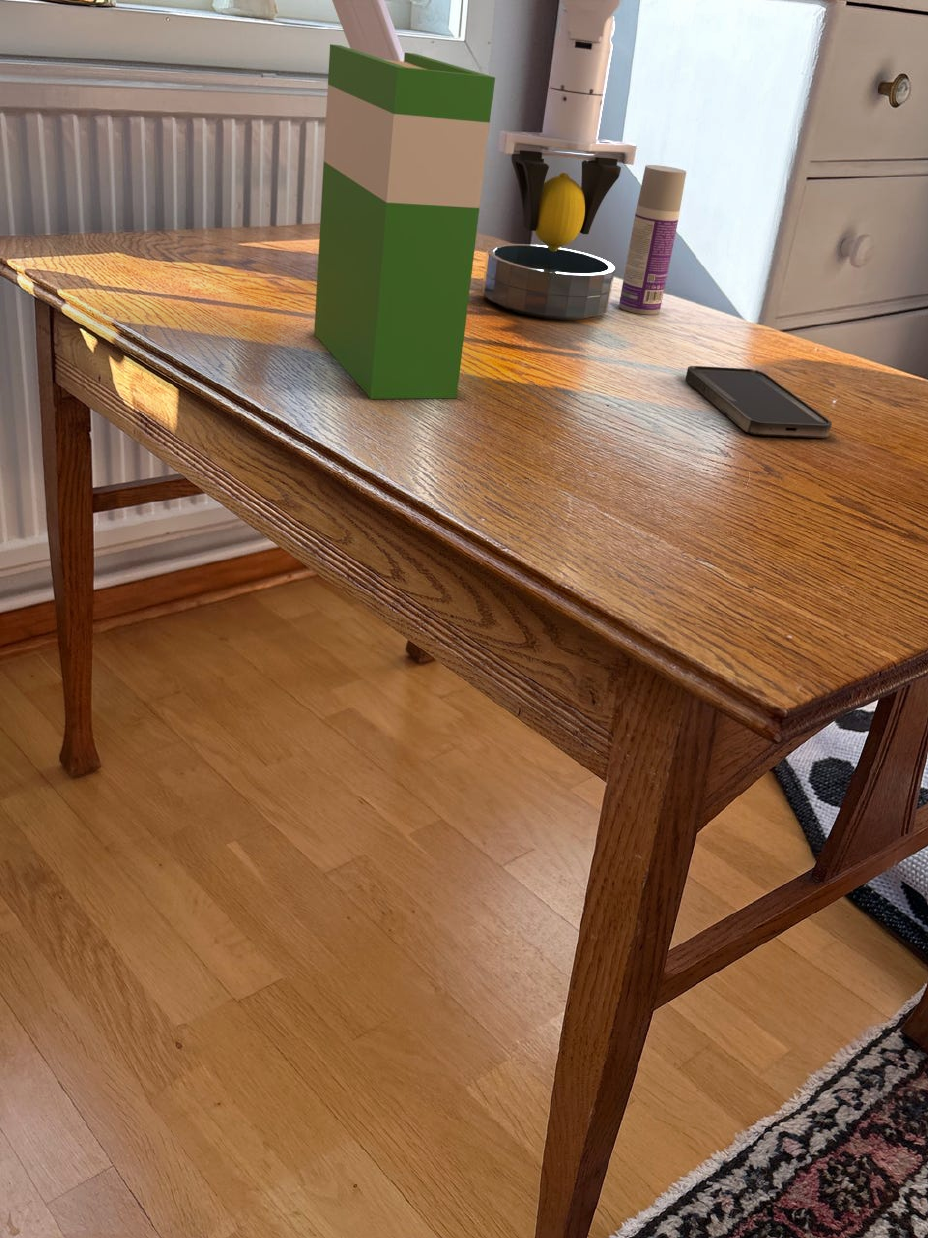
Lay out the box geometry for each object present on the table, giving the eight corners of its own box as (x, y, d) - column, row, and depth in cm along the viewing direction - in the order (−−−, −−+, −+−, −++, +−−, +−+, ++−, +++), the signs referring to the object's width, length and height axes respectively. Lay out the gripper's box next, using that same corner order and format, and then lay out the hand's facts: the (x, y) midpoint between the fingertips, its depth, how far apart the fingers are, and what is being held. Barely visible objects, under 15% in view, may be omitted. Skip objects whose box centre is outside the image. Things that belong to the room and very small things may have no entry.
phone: (759, 369, 107) (837, 425, 94) (756, 380, 108) (833, 438, 95) (682, 365, 105) (751, 421, 92) (680, 376, 106) (748, 434, 93)
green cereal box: (314, 333, 104) (330, 43, 93) (390, 334, 107) (415, 53, 95) (370, 398, 90) (397, 67, 79) (456, 397, 93) (495, 77, 81)
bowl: (469, 307, 119) (475, 259, 117) (495, 282, 131) (501, 237, 129) (598, 330, 117) (606, 282, 115) (613, 302, 129) (621, 257, 127)
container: (658, 306, 130) (686, 168, 123) (660, 316, 126) (689, 174, 119) (618, 301, 130) (643, 162, 123) (619, 310, 126) (645, 168, 119)
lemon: (563, 259, 118) (576, 179, 114) (517, 248, 121) (528, 169, 117) (587, 253, 122) (599, 175, 119) (542, 243, 125) (553, 166, 121)
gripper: (522, 88, 108) (503, 234, 115) (658, 102, 113) (632, 242, 119) (499, 80, 114) (482, 219, 121) (629, 94, 119) (606, 228, 125)
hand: (555, 230), depth 120 cm, fingers closed on lemon, 5 cm apart
